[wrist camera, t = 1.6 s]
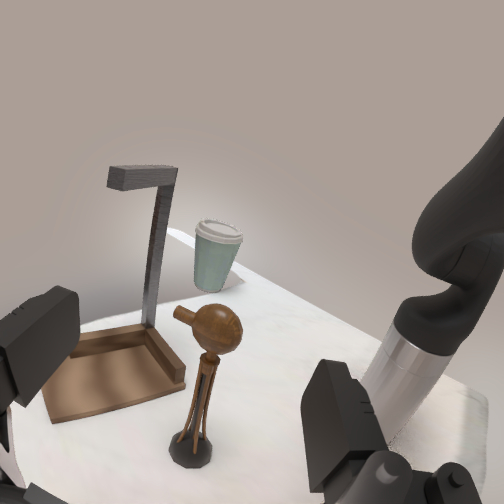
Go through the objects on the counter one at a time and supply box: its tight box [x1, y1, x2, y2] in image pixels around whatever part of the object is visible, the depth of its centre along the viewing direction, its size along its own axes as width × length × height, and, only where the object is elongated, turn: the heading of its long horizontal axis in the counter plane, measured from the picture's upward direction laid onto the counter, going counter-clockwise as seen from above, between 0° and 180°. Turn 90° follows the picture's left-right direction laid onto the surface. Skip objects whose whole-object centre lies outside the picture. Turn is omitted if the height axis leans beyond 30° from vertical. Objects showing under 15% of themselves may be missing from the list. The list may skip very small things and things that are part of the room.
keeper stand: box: [41, 165, 186, 424], centre depth 28 cm, size 19×11×27 cm, turn 133°
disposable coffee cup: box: [194, 218, 243, 293], centre depth 64 cm, size 11×11×15 cm
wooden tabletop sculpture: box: [169, 304, 243, 468], centre depth 23 cm, size 6×5×20 cm
